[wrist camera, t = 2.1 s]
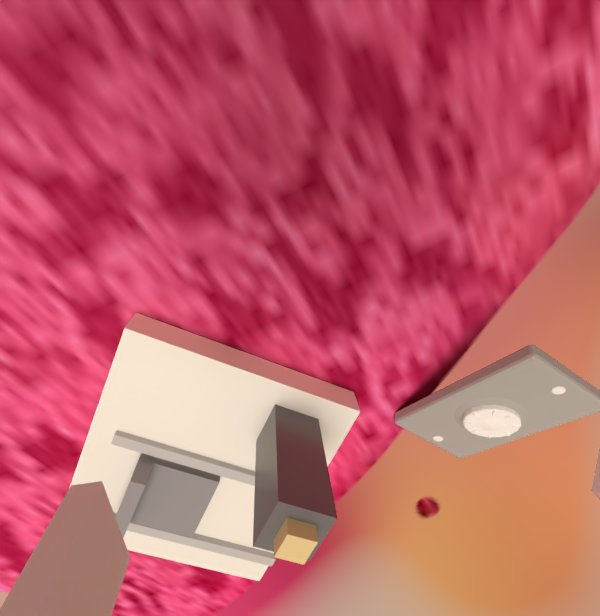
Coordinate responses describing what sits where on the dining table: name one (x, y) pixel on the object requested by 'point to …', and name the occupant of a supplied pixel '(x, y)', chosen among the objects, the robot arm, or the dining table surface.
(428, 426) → the light switch
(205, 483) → the shutter
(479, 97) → the dining table surface
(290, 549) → the plug
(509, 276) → the dining table surface
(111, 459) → the socket board
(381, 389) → the dining table surface
